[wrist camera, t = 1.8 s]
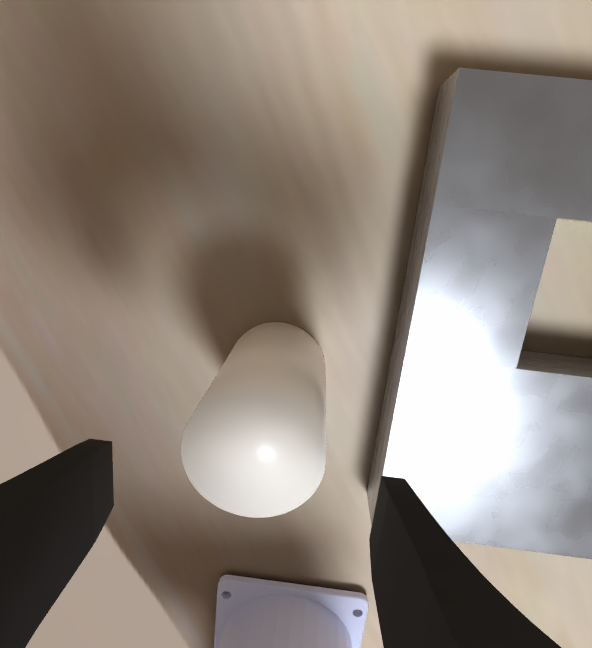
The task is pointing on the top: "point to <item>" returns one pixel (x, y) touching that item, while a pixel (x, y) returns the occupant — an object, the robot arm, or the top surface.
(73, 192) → the top surface
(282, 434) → the white rounded cylinder
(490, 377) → the plate
